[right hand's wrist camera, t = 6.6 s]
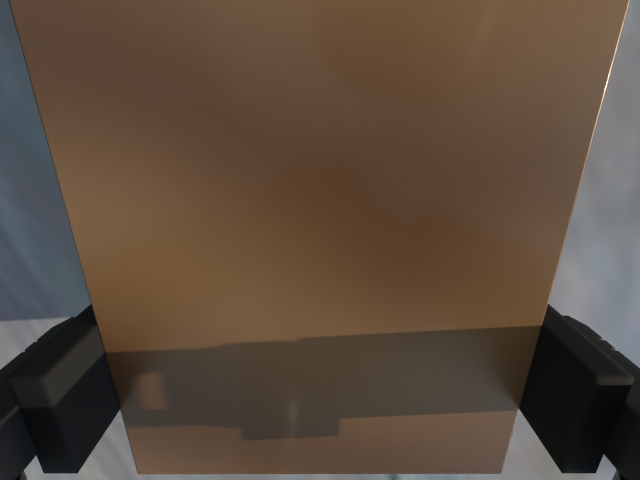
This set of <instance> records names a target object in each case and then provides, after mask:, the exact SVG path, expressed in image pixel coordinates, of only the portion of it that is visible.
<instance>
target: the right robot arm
mask: <svg viewBox="0 0 640 480" xmlns="http://www.w3.org/2000/svg"><path fill="white" fill-rule="evenodd" d="M519 409H520V411H521V412H522V414H523V415H524V417H525V418H526V420H527V421H528V423H529V424H530V426H531V427H532V429H533V430H534V432H535V433H536V435H537V436H538V438H539V439H540V441H541V442H542V444H543V445H544V447H545V448H546V450H547V451H548V453H549V454H550V456H551V457H552V459H553V460H554V462H555V463H556V465H557V466H558V468H559V469H560V471H561V472H562V473H596V471H597V468H598V466H599V464H600V461H601V459H602V456H603V454H605V456H606V457H607V458H608V459H609V460H610V462H611V463H612V464H613V465H614V467H615V468H616V469H617V470H616V473H615V475H614V477H613V479H612V480H640V368H639V367H637V366H636V365H635V364H634V363H632V362H631V361H630V360H629V359H628V358H626V357H625V356H624V355H623V354H621V353H620V352H619V351H615V348H614V347H613V346H612V345H610V344H609V343H608V342H607V341H603V340H602V337H600V336H599V335H598V334H597V333H595V332H594V331H593V330H592V329H591V328H589V327H588V326H586V325H585V324H583V323H581V322H579V321H577V320H575V319H573V318H571V317H569V316H562V315H561V314H559V313H558V312H557V311H556V310H555V309H554V308H552V307H551V306H550V305H549V304H548V305H547V309H546V312H545V316H544V320H543V323H542V327H541V331H540V334H539V338H538V342H537V345H536V349H535V353H534V356H533V360H532V364H531V368H530V371H529V375H528V379H527V382H526V386H525V390H524V393H523V397H522V401H521V404H520V408H519ZM119 410H120V407H119V403H118V399H117V396H116V392H115V388H114V385H113V381H112V377H111V374H110V370H109V366H108V363H107V359H106V355H105V352H104V348H103V344H102V341H101V337H100V333H99V330H98V326H97V322H96V319H95V315H94V311H93V308H92V304H91V305H90V306H88V307H87V308H86V309H85V310H84V311H82V312H81V313H80V314H79V315H78V316H77V317H71V318H69V319H67V320H65V321H63V322H62V323H60V324H58V325H56V326H54V327H52V328H51V329H50V330H49V331H47V332H46V333H45V334H44V335H42V336H41V337H40V338H39V339H38V341H37V342H34V343H33V344H31V345H30V346H29V347H28V348H27V349H25V352H22V353H20V354H19V355H18V356H17V357H15V358H14V359H13V360H12V361H11V362H9V363H8V364H7V365H6V366H4V367H3V368H2V369H1V370H0V480H27V477H26V475H25V473H24V469H25V468H26V467H27V466H28V464H29V463H30V462H31V461H32V460H33V458H34V457H35V456H36V455H37V458H38V460H39V462H40V465H41V467H42V470H43V472H44V473H78V472H79V470H80V469H81V467H82V466H83V464H84V463H85V461H86V460H87V458H88V457H89V455H90V454H91V452H92V451H93V449H94V448H95V446H96V445H97V443H98V442H99V440H100V439H101V437H102V436H103V434H104V433H105V431H106V430H107V428H108V427H109V425H110V424H111V422H112V421H113V419H114V418H115V416H116V415H117V413H118V411H119Z"/></svg>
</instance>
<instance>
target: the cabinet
mask: <svg viewBox="0 0 640 480" xmlns="http://www.w3.org/2000/svg"><path fill="white" fill-rule="evenodd" d="M629 2H630V0H9V3H10V7H11V11H12V14H13V18H14V22H15V25H16V29H17V33H18V36H19V40H20V44H21V47H22V51H23V55H24V58H25V62H26V66H27V69H28V73H29V77H30V80H31V84H32V88H33V91H34V95H35V99H36V102H37V106H38V110H39V113H40V117H41V121H42V124H43V128H44V132H45V135H46V139H47V143H48V146H49V150H50V154H51V157H52V161H53V165H54V168H55V172H56V176H57V179H58V183H59V187H60V190H61V194H62V198H63V201H64V205H65V209H66V212H67V216H68V220H69V223H70V227H71V231H72V234H73V238H74V242H75V245H76V249H77V253H78V256H79V260H80V264H81V267H82V271H83V275H84V278H85V282H86V286H87V289H88V293H89V297H90V300H91V304H92V308H93V311H94V315H95V319H96V322H97V326H98V330H99V333H100V337H101V341H102V344H103V348H104V352H105V355H106V359H107V363H108V366H109V370H110V374H111V377H112V381H113V385H114V388H115V392H116V396H117V399H118V403H119V407H120V410H121V414H122V418H123V421H124V425H125V429H126V432H127V436H128V440H129V443H130V447H131V451H132V454H133V458H134V462H135V465H136V469H137V473H138V474H501V473H502V471H503V467H504V463H505V460H506V456H507V452H508V449H509V445H510V441H511V438H512V434H513V430H514V427H515V423H516V419H517V415H518V412H519V408H520V404H521V401H522V397H523V393H524V390H525V386H526V382H527V379H528V375H529V371H530V368H531V364H532V360H533V356H534V353H535V349H536V345H537V342H538V338H539V334H540V331H541V327H542V323H543V320H544V316H545V312H546V309H547V305H548V301H549V297H550V294H551V290H552V286H553V283H554V279H555V275H556V272H557V268H558V264H559V261H560V257H561V253H562V250H563V246H564V242H565V238H566V235H567V231H568V227H569V224H570V220H571V216H572V213H573V209H574V205H575V202H576V198H577V194H578V191H579V187H580V183H581V179H582V176H583V172H584V168H585V165H586V161H587V157H588V154H589V150H590V146H591V143H592V139H593V135H594V132H595V128H596V124H597V120H598V117H599V113H600V109H601V106H602V102H603V98H604V95H605V91H606V87H607V84H608V80H609V76H610V73H611V69H612V65H613V61H614V58H615V54H616V50H617V47H618V43H619V39H620V36H621V32H622V28H623V25H624V21H625V17H626V14H627V10H628V6H629Z"/></svg>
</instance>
